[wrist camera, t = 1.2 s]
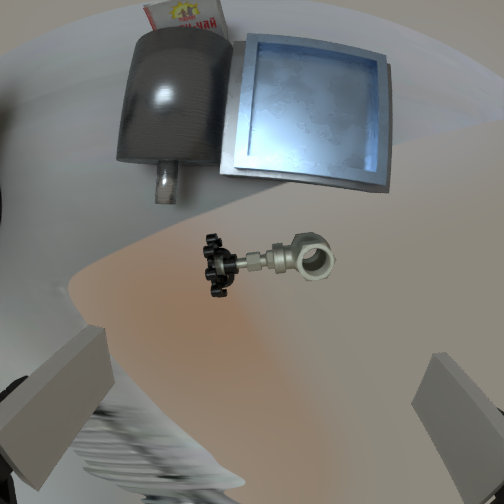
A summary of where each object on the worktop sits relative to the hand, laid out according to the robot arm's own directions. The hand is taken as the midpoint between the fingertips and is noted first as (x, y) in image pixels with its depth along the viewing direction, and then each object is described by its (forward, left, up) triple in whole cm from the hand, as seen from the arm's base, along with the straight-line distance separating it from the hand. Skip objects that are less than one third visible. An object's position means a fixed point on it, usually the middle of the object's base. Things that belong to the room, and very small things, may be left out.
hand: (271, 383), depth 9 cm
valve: (0, 0, -23) cm, 23 cm away
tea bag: (-10, +25, -22) cm, 35 cm away
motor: (-2, +14, -22) cm, 26 cm away
